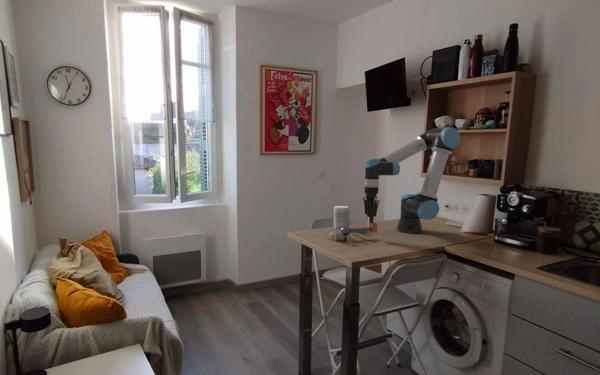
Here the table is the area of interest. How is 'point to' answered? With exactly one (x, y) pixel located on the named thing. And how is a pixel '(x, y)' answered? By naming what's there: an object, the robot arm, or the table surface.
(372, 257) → the table surface
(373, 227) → the lever
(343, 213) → the supplement tub
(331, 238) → the walnut
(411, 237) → the table surface
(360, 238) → the cracker base
